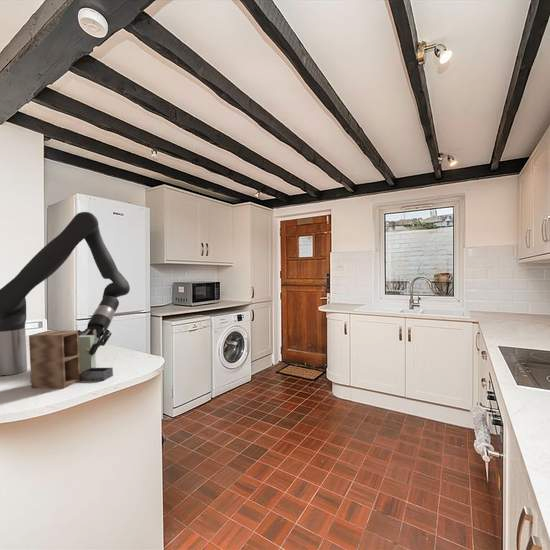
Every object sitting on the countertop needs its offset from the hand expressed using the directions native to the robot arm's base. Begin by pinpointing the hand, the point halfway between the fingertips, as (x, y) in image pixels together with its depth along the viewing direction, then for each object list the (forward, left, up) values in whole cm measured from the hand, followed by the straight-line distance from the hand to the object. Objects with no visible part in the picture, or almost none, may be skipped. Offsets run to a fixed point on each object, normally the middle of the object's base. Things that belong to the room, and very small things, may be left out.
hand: (82, 354), depth 118 cm
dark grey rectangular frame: (+9, -5, -7) cm, 13 cm away
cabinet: (-2, -11, -7) cm, 13 cm away
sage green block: (0, +2, -7) cm, 8 cm away
